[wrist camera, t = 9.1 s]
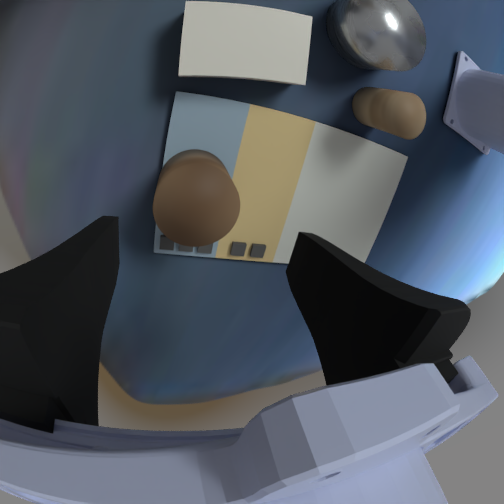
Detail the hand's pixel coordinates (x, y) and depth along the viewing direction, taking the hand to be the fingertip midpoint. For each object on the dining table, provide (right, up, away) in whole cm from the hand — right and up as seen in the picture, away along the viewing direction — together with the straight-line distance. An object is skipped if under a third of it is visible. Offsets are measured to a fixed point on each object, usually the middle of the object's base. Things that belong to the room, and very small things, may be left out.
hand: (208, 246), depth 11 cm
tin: (+9, +15, +3) cm, 18 cm away
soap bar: (+1, +12, +3) cm, 13 cm away
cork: (+10, +10, +6) cm, 16 cm away
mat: (+4, +4, +9) cm, 11 cm away
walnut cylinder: (-2, +4, +7) cm, 8 cm away
